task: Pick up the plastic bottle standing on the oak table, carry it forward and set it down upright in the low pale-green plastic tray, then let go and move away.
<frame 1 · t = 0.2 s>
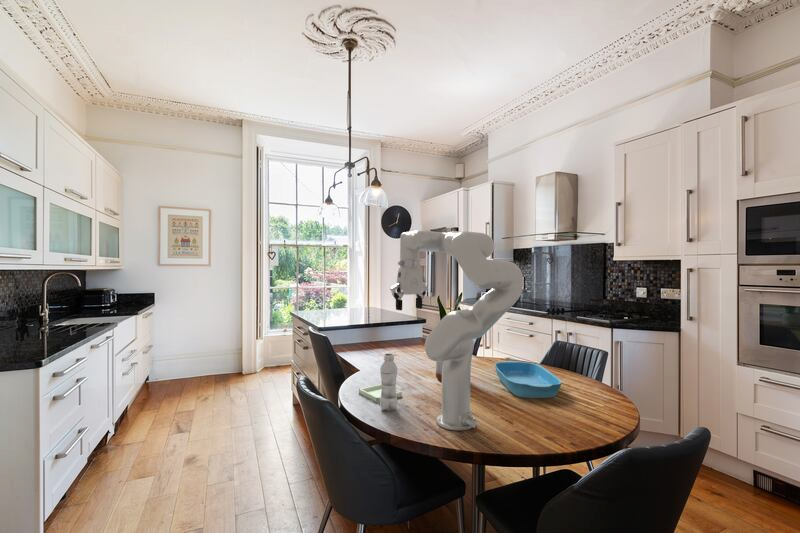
hand: (409, 309, 145), 36 cm above the table, tool pointing down, fingers open, 9 cm apart
casserole dish: (525, 388, 165), on the table
plastic bottle: (388, 409, 138), on the table
tray: (380, 395, 153), on the table
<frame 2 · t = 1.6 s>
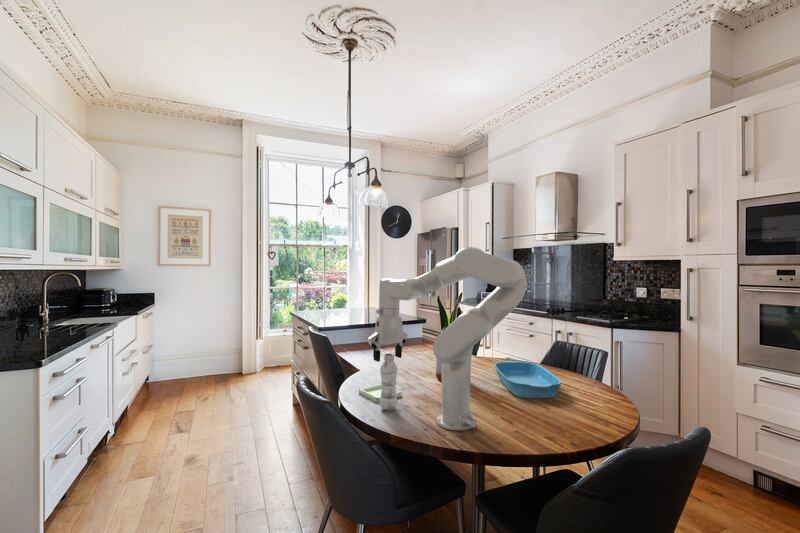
hand: (387, 358, 138), 18 cm above the table, tool pointing down, fingers open, 9 cm apart
nothing on the table moved.
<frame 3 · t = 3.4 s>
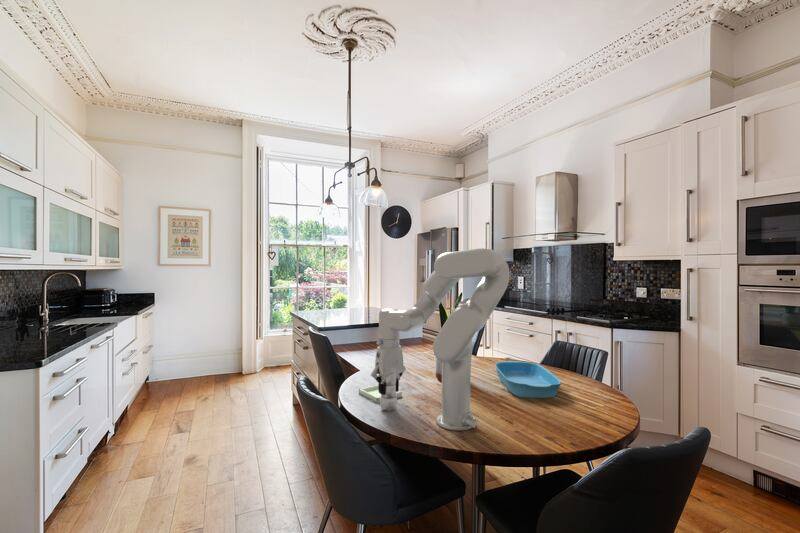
hand: (388, 391, 138), 6 cm above the table, tool pointing down, fingers closed on plastic bottle, 5 cm apart
plastic bottle: (388, 409, 138), on the table, touching gripper
everything else where it was.
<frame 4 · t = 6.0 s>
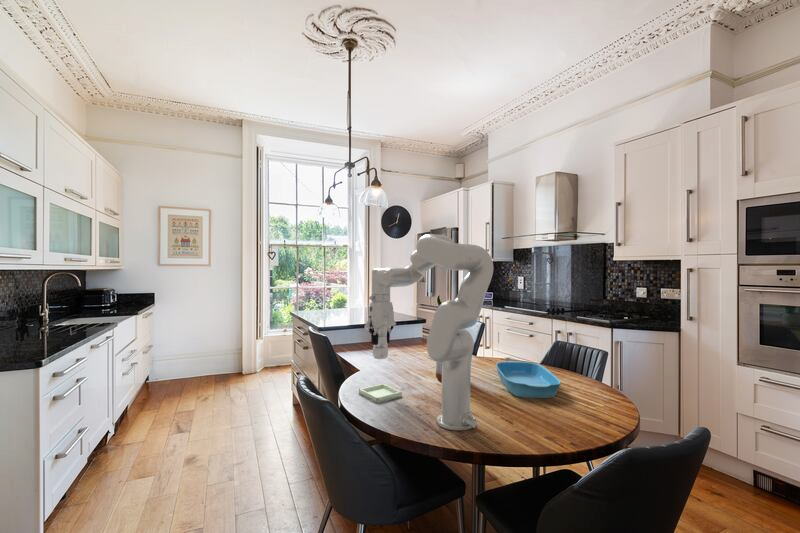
hand: (380, 343, 153), 21 cm above the table, tool pointing down, fingers closed on plastic bottle, 5 cm apart
plastic bottle: (380, 359, 153), point 15 cm above the table, touching gripper
everything else where it was.
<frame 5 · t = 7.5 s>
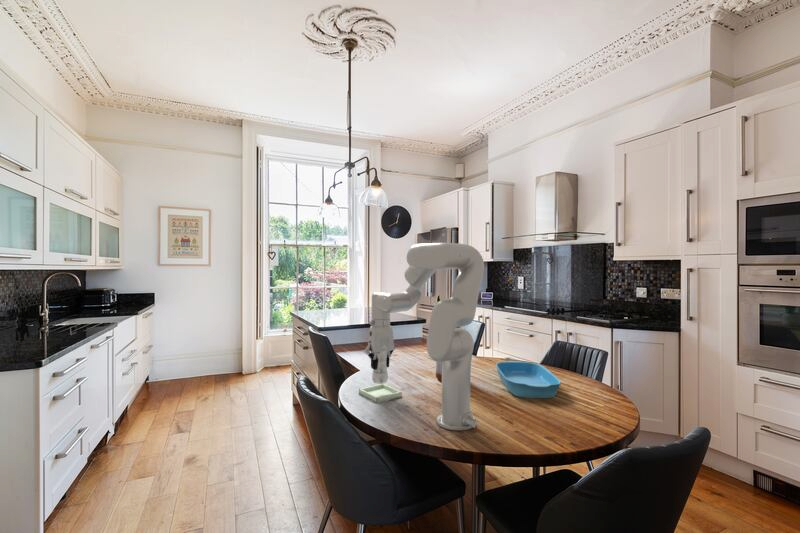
hand: (380, 367, 153), 11 cm above the table, tool pointing down, fingers closed on plastic bottle, 5 cm apart
plastic bottle: (379, 383, 153), point 5 cm above the table, touching gripper
everything else where it was.
when the fingers open (8 cm above the table, at t = 8.7 s): plastic bottle moves 1 cm, resting on tray.
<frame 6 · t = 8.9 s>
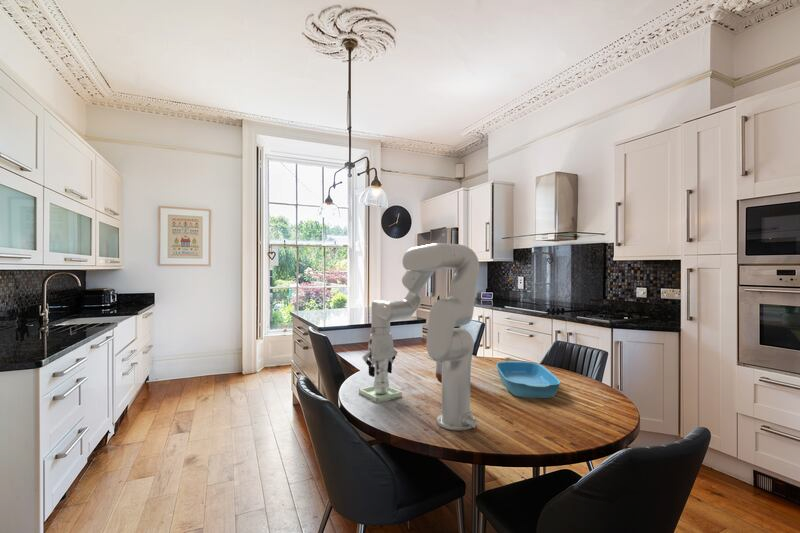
hand: (380, 373, 153), 9 cm above the table, tool pointing down, fingers open, 7 cm apart
plastic bottle: (381, 393, 154), resting on tray, touching gripper
everything else where it was.
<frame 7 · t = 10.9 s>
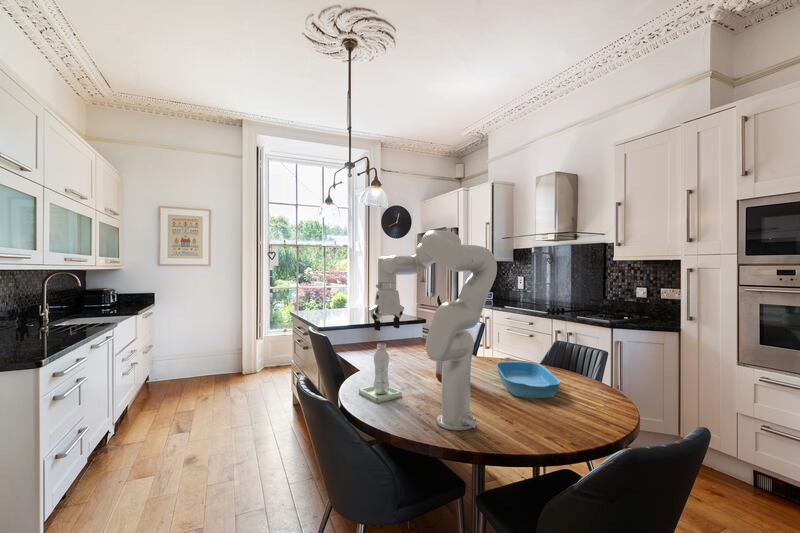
hand: (387, 329, 154), 27 cm above the table, tool pointing down, fingers open, 9 cm apart
plastic bottle: (381, 393, 154), resting on tray
everything else where it was.
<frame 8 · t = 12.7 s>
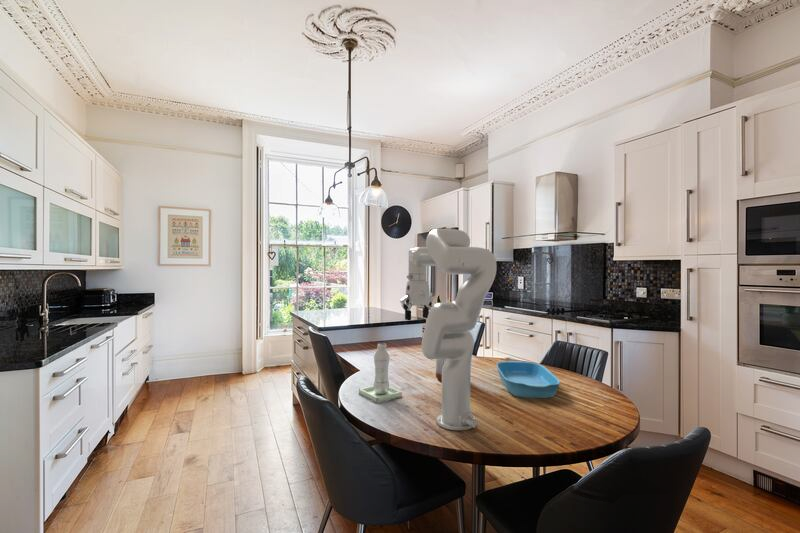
hand: (417, 318, 158), 30 cm above the table, tool pointing down, fingers open, 9 cm apart
nothing on the table moved.
at the end: plastic bottle inside the target area on the tray (0.7 cm from its centre), point 0.4 cm above the tray's base; plastic bottle tilted 0°; the gripper is holding nothing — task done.
